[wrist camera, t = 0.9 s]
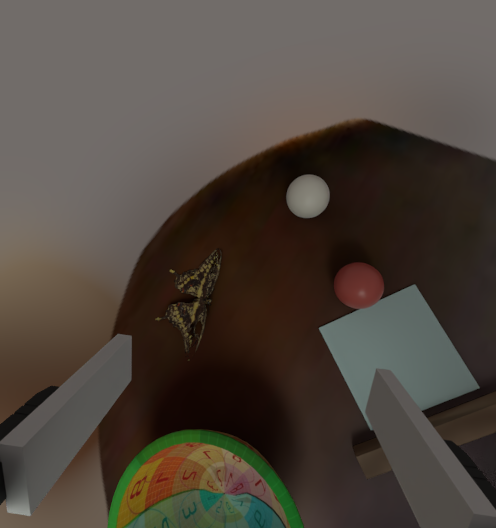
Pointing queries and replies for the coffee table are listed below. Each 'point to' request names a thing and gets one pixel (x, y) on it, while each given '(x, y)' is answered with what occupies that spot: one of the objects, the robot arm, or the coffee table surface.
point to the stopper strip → (448, 427)
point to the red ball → (358, 285)
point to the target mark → (398, 350)
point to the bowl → (201, 486)
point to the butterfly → (194, 311)
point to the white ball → (307, 196)
